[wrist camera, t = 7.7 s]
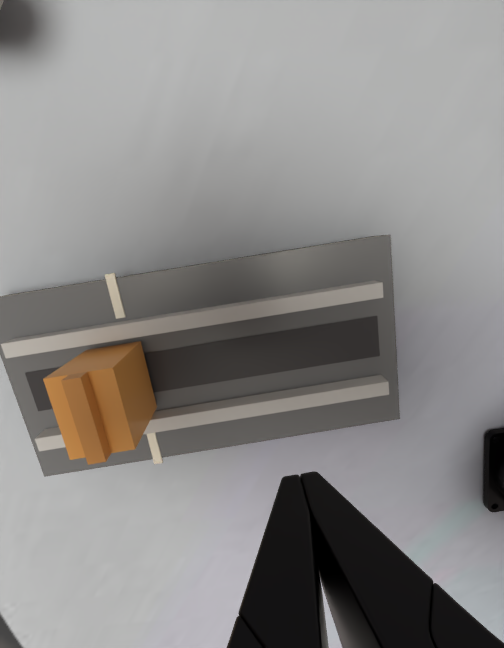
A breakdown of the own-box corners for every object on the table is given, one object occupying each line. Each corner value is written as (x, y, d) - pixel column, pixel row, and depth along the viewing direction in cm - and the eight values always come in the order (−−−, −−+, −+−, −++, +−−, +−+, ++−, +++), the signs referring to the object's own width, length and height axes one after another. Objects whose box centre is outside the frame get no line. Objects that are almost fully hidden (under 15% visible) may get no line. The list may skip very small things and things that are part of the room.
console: (385, 407, 22) (408, 432, 19) (63, 459, 22) (35, 492, 19) (374, 230, 19) (399, 227, 16) (5, 289, 19) (-38, 297, 16)
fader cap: (157, 406, 18) (130, 457, 14) (105, 415, 18) (62, 468, 14) (140, 341, 18) (107, 372, 13) (86, 349, 17) (34, 384, 13)
